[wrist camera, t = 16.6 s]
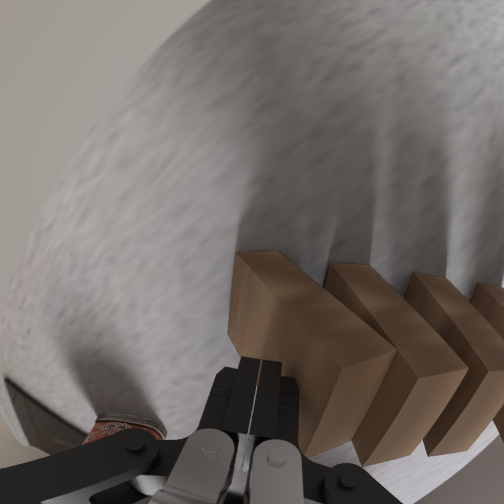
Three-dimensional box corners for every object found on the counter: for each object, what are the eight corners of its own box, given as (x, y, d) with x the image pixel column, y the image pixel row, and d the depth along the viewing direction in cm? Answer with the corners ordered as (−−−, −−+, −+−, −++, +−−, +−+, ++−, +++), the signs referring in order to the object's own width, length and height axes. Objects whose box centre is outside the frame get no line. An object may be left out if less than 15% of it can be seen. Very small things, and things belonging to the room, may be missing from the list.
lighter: (157, 416, 23) (113, 507, 13) (173, 439, 24) (137, 525, 14) (92, 410, 24) (45, 480, 15) (108, 432, 25) (68, 501, 16)
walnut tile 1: (277, 251, 17) (397, 349, 9) (265, 328, 18) (351, 440, 11) (235, 252, 16) (341, 368, 8) (227, 333, 17) (302, 459, 10)
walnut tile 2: (369, 265, 16) (469, 368, 8) (347, 339, 18) (410, 455, 9) (330, 262, 16) (418, 378, 7) (311, 339, 18) (361, 466, 9)
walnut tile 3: (445, 277, 16) (526, 368, 7) (419, 346, 17) (467, 450, 9) (413, 272, 16) (488, 371, 7) (388, 343, 18) (427, 456, 9)
